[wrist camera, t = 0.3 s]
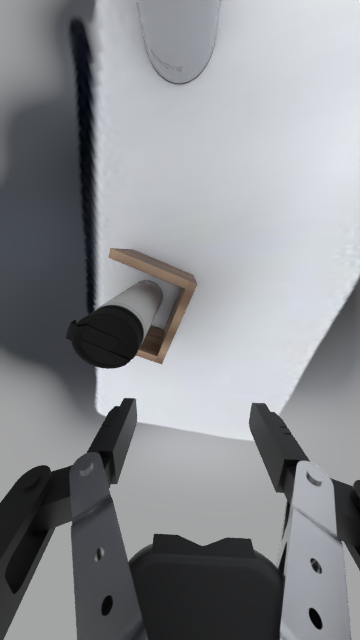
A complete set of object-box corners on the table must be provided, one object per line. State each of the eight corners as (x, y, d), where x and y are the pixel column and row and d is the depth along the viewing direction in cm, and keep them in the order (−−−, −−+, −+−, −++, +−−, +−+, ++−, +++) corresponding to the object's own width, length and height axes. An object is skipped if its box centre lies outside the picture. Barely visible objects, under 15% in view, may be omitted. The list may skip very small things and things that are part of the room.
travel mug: (138, 273, 32) (75, 300, 14) (168, 290, 33) (147, 336, 15) (125, 300, 34) (57, 355, 16) (154, 315, 36) (121, 383, 17)
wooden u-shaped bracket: (132, 249, 31) (110, 248, 22) (193, 275, 32) (197, 284, 23) (114, 317, 36) (89, 339, 27) (167, 336, 37) (161, 364, 28)
